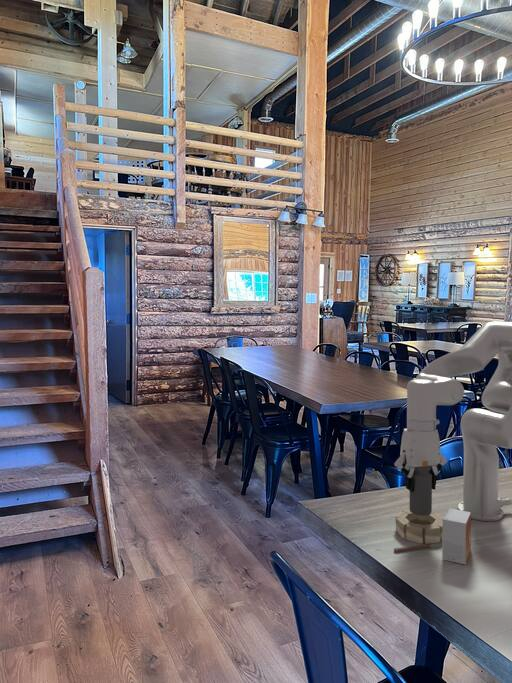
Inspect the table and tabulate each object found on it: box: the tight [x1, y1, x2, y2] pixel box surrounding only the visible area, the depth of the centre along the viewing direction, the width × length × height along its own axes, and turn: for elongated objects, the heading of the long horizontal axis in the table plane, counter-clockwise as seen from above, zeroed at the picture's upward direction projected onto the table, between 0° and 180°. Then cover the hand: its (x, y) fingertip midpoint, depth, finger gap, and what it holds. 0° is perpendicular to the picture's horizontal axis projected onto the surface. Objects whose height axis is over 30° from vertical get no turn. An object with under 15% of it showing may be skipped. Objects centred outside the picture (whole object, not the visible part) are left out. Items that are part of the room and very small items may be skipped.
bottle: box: [409, 461, 433, 516], centre depth 139 cm, size 6×6×15 cm
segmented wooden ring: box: [395, 508, 444, 545], centre depth 140 cm, size 12×12×4 cm
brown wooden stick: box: [393, 543, 432, 554], centre depth 130 cm, size 10×1×1 cm, turn 102°
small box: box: [441, 507, 472, 566], centre depth 127 cm, size 8×6×10 cm
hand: (420, 488), depth 139 cm, fingers closed on bottle, 5 cm apart
